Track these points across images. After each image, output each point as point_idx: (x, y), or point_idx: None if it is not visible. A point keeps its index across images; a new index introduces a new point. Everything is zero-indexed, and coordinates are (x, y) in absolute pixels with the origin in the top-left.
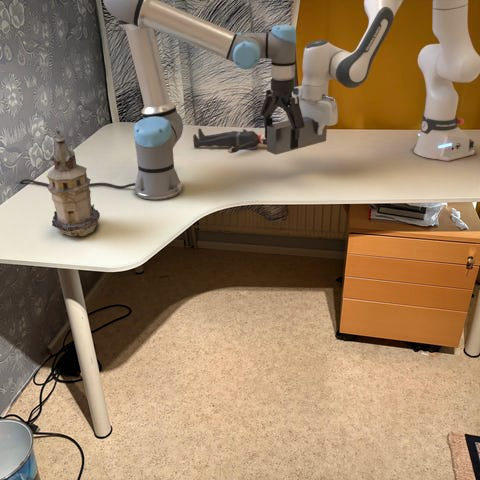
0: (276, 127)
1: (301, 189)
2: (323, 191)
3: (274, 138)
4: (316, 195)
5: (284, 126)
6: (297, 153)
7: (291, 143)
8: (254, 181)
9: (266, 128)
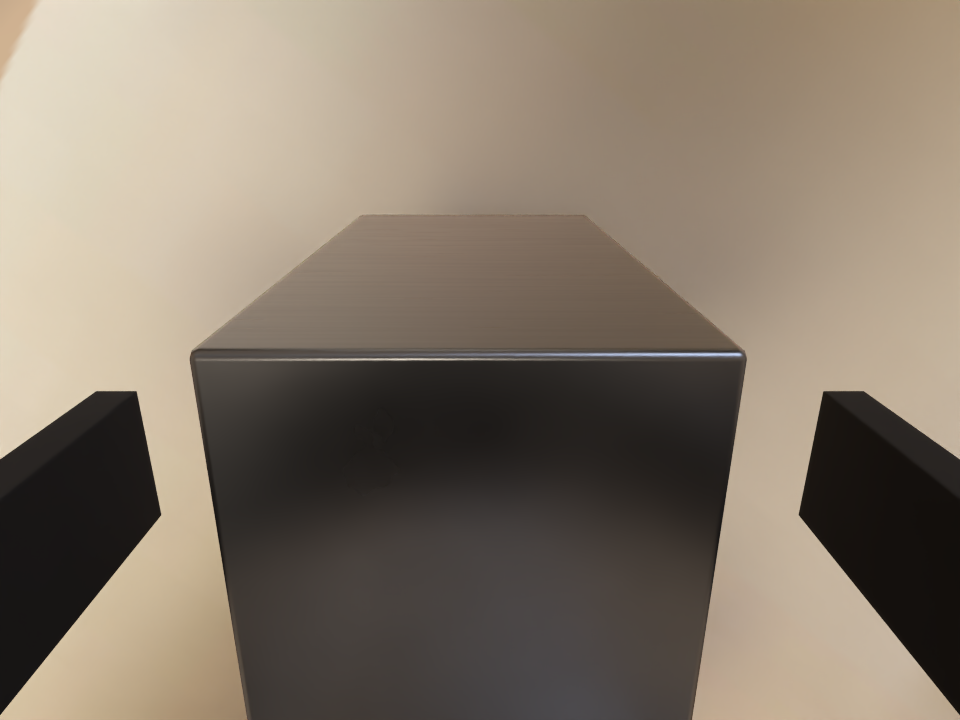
0: (355, 483)
1: (177, 285)
2: (59, 398)
3: (342, 267)
4: (11, 304)
5: (298, 709)
6: (786, 702)
7: (43, 436)
8: (576, 39)
9: (943, 494)
